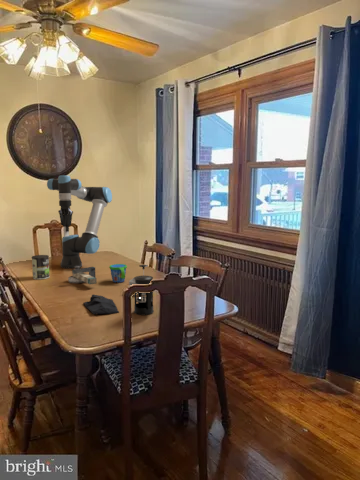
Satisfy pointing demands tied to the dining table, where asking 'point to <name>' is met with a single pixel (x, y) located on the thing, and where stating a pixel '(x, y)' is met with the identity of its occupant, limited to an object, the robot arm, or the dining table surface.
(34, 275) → the coffee can
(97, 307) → the black folded cloth
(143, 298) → the french press
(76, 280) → the pin plate
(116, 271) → the snack cup
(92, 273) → the keeper
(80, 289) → the dining table surface
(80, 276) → the link
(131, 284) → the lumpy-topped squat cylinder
